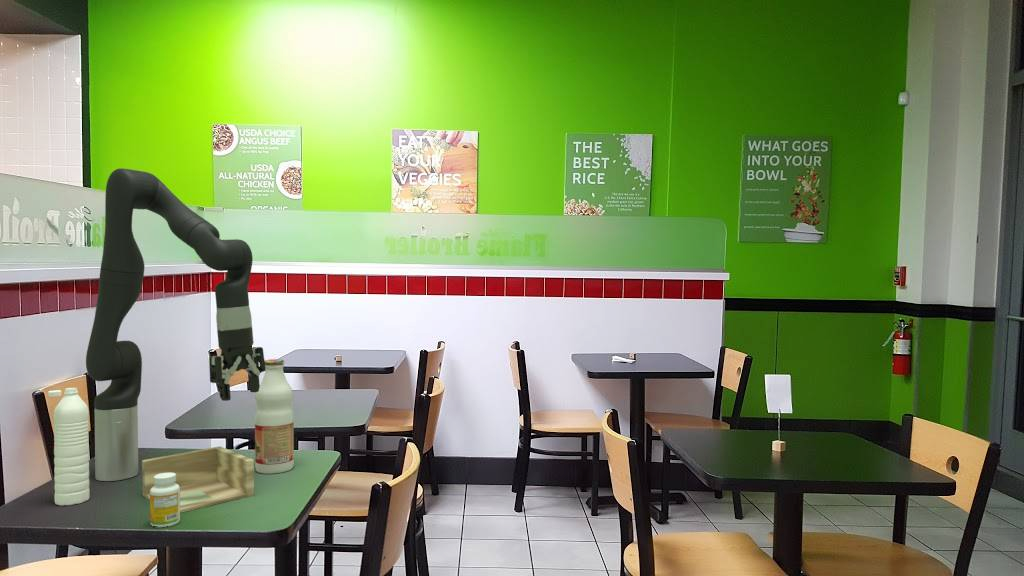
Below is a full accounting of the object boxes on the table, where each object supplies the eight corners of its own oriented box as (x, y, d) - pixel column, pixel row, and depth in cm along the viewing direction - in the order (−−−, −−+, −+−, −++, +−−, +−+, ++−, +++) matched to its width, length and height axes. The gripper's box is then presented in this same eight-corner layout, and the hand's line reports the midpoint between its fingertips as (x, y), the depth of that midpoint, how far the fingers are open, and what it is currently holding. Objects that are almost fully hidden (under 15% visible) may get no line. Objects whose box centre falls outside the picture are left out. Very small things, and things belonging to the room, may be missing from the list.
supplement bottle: (157, 518, 143) (156, 471, 143) (184, 518, 143) (183, 471, 143) (145, 528, 137) (145, 479, 137) (173, 527, 138) (173, 478, 138)
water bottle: (71, 495, 157) (70, 385, 157) (96, 497, 156) (95, 386, 155) (38, 508, 149) (36, 391, 148) (64, 510, 147) (62, 392, 147)
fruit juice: (278, 476, 173) (278, 363, 172) (247, 472, 176) (246, 361, 175) (301, 466, 182) (300, 358, 181) (270, 462, 185) (270, 357, 184)
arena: (142, 495, 157) (142, 460, 157) (220, 479, 170) (219, 446, 170) (173, 514, 145) (172, 476, 145) (254, 495, 158) (253, 459, 158)
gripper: (246, 322, 168) (251, 389, 169) (197, 330, 156) (203, 402, 157) (269, 322, 165) (275, 390, 166) (221, 330, 152) (228, 404, 153)
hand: (240, 396), depth 161 cm, fingers open, 8 cm apart
